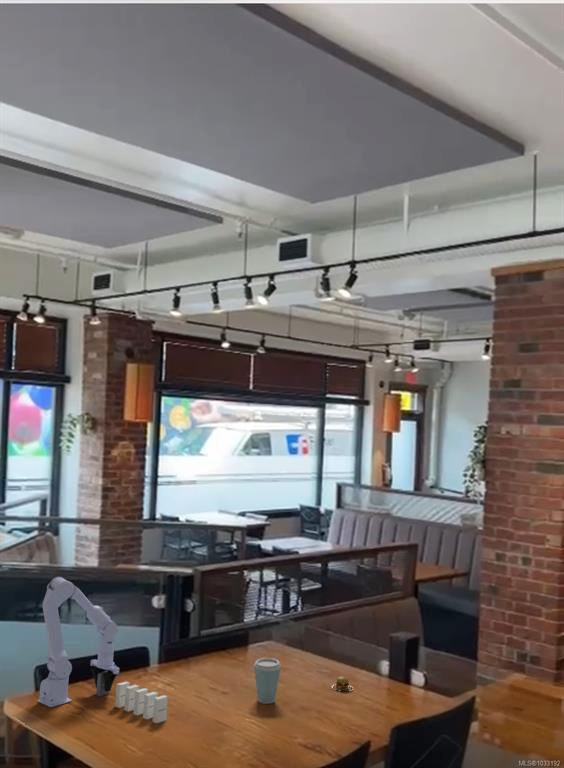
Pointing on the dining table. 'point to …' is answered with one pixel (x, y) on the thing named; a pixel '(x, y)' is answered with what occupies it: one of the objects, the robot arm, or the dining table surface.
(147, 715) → the tile
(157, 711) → the tile
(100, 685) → the tile
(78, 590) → the robot arm
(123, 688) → the tile
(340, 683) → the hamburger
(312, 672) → the dining table surface
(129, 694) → the tile
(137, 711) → the tile
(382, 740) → the dining table surface
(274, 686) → the disposable coffee cup
